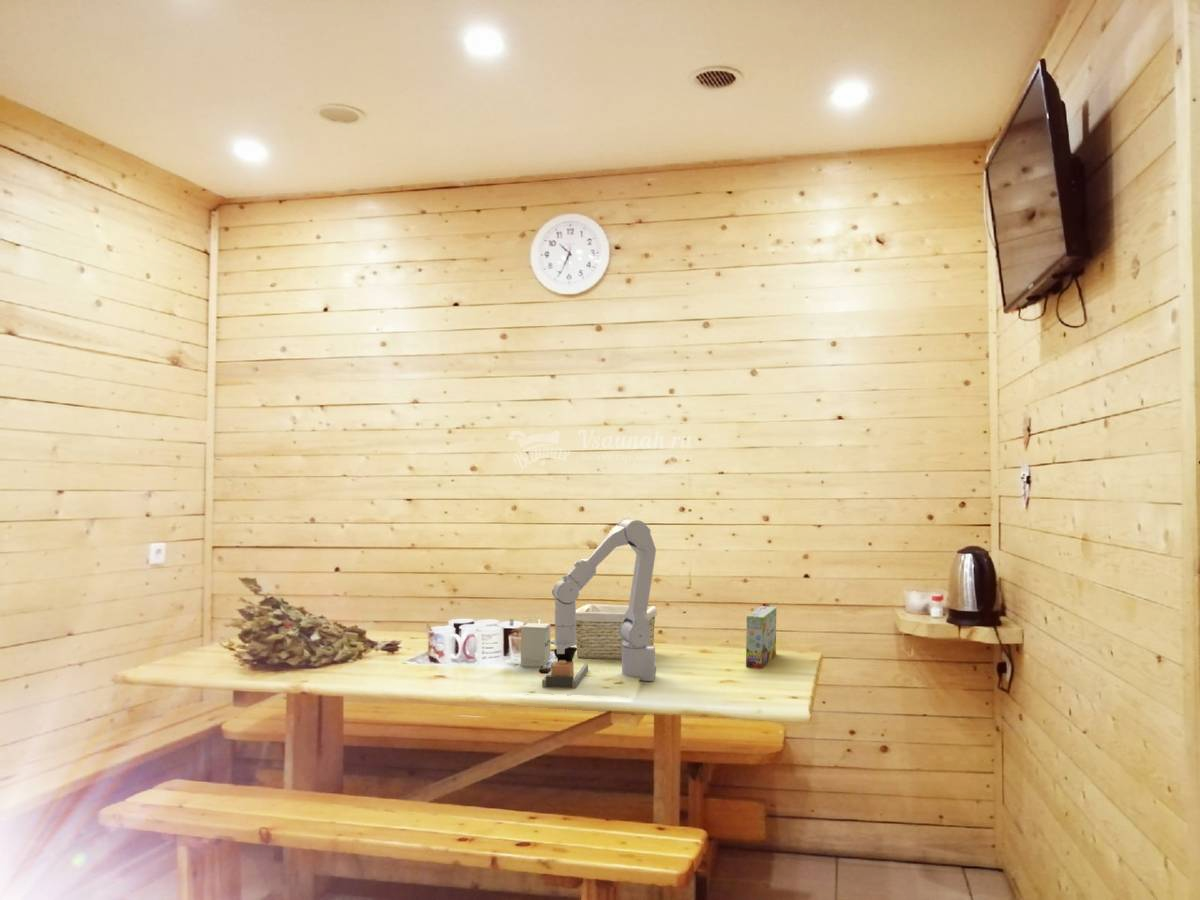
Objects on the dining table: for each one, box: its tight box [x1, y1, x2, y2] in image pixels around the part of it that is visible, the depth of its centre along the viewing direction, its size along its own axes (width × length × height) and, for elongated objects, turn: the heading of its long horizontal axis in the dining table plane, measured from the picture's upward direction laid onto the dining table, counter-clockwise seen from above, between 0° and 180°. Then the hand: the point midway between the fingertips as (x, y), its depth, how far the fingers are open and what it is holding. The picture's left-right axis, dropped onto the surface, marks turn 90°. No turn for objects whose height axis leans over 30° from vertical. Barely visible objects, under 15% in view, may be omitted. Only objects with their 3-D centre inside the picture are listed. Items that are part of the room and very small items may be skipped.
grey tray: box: [541, 663, 589, 689], centre depth 233 cm, size 12×20×4 cm, turn 172°
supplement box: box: [520, 622, 551, 668], centre depth 251 cm, size 7×7×13 cm
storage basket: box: [575, 603, 658, 661], centre depth 268 cm, size 24×16×15 cm
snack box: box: [745, 605, 777, 669], centre depth 259 cm, size 21×6×15 cm, turn 158°
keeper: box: [551, 660, 575, 679], centre depth 228 cm, size 5×5×6 cm
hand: (565, 675), depth 233 cm, fingers closed
